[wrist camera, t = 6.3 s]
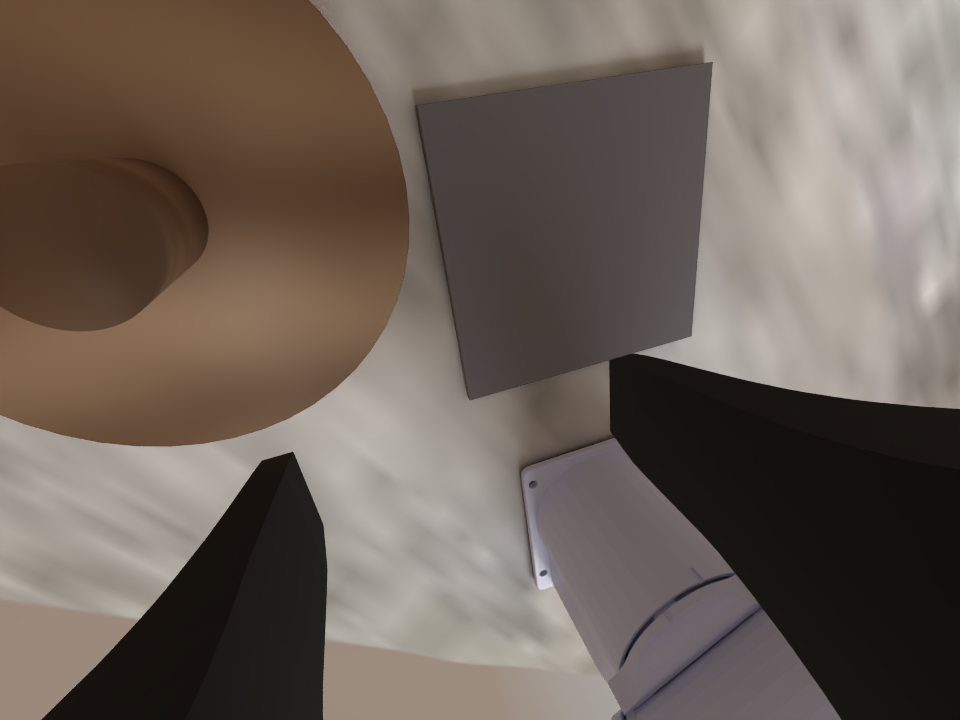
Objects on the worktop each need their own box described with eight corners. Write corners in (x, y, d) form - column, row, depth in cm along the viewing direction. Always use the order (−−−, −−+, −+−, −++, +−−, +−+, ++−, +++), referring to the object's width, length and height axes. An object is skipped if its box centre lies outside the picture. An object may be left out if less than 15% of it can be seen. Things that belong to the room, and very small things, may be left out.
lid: (451, 348, 16) (497, 421, 12) (52, 488, 14) (-70, 640, 10) (301, -165, 10) (284, -403, 6) (-448, -57, 8) (-1386, -307, 4)
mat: (686, 333, 24) (691, 336, 24) (467, 396, 21) (470, 400, 21) (705, 63, 18) (712, 61, 18) (415, 106, 16) (417, 105, 16)
